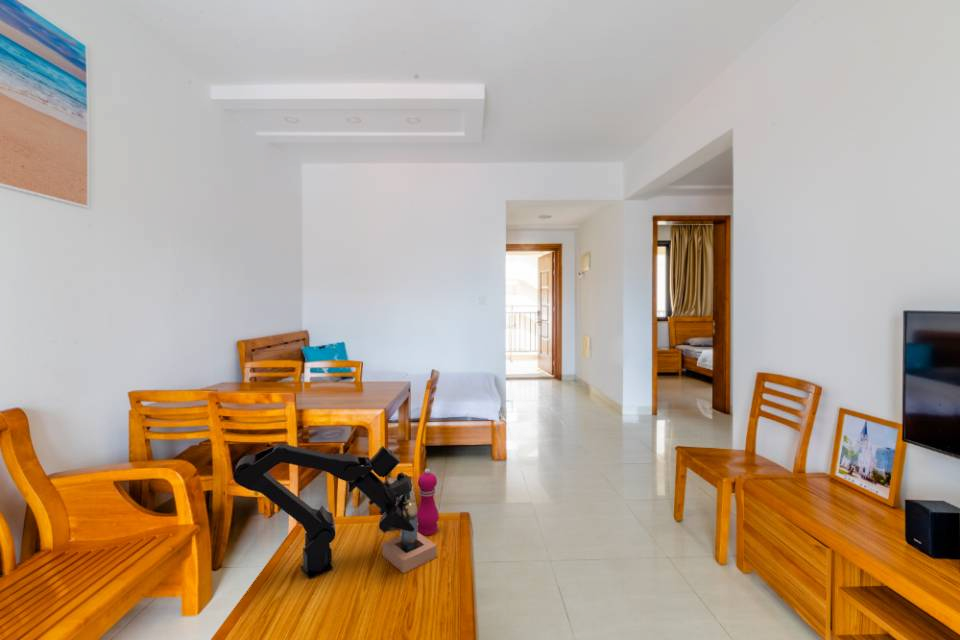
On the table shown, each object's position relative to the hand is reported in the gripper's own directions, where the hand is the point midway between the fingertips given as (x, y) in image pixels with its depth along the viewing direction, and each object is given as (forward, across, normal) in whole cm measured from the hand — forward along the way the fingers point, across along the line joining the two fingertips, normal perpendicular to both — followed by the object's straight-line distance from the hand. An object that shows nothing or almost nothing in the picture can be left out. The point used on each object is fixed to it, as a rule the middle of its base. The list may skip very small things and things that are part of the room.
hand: (414, 525), depth 125 cm
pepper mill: (+9, +14, +4) cm, 17 cm away
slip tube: (+4, 0, +6) cm, 7 cm away
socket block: (+5, 0, +7) cm, 9 cm away
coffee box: (+2, +16, +11) cm, 20 cm away
